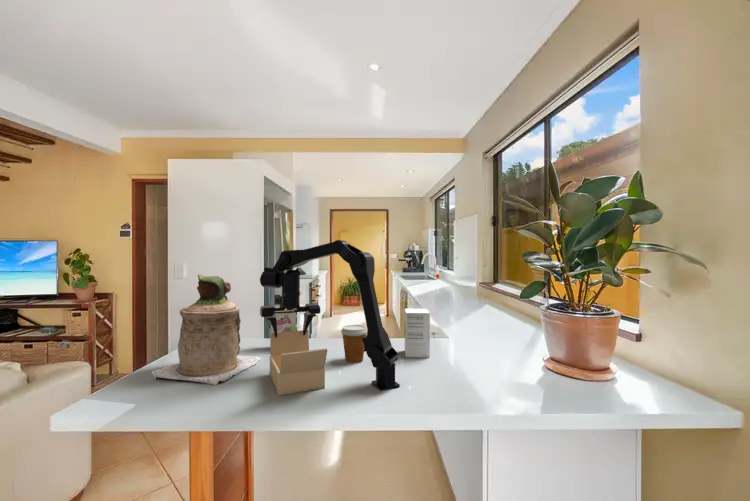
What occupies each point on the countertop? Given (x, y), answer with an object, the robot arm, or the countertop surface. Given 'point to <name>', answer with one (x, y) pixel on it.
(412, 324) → the supplement box
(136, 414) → the countertop surface
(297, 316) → the candy bar box
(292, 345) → the far flap
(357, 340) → the disposable coffee cup
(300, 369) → the near flap
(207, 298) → the cookie jar
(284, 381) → the carton
